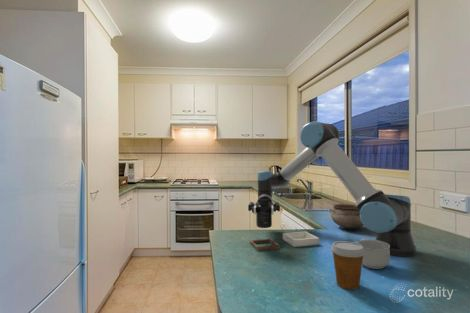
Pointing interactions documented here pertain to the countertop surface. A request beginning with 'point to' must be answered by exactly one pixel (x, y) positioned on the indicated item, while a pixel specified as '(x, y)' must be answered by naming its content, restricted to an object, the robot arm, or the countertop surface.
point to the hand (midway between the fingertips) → (263, 211)
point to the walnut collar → (259, 248)
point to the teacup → (375, 253)
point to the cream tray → (300, 239)
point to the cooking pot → (346, 216)
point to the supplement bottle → (263, 213)
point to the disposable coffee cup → (348, 263)
